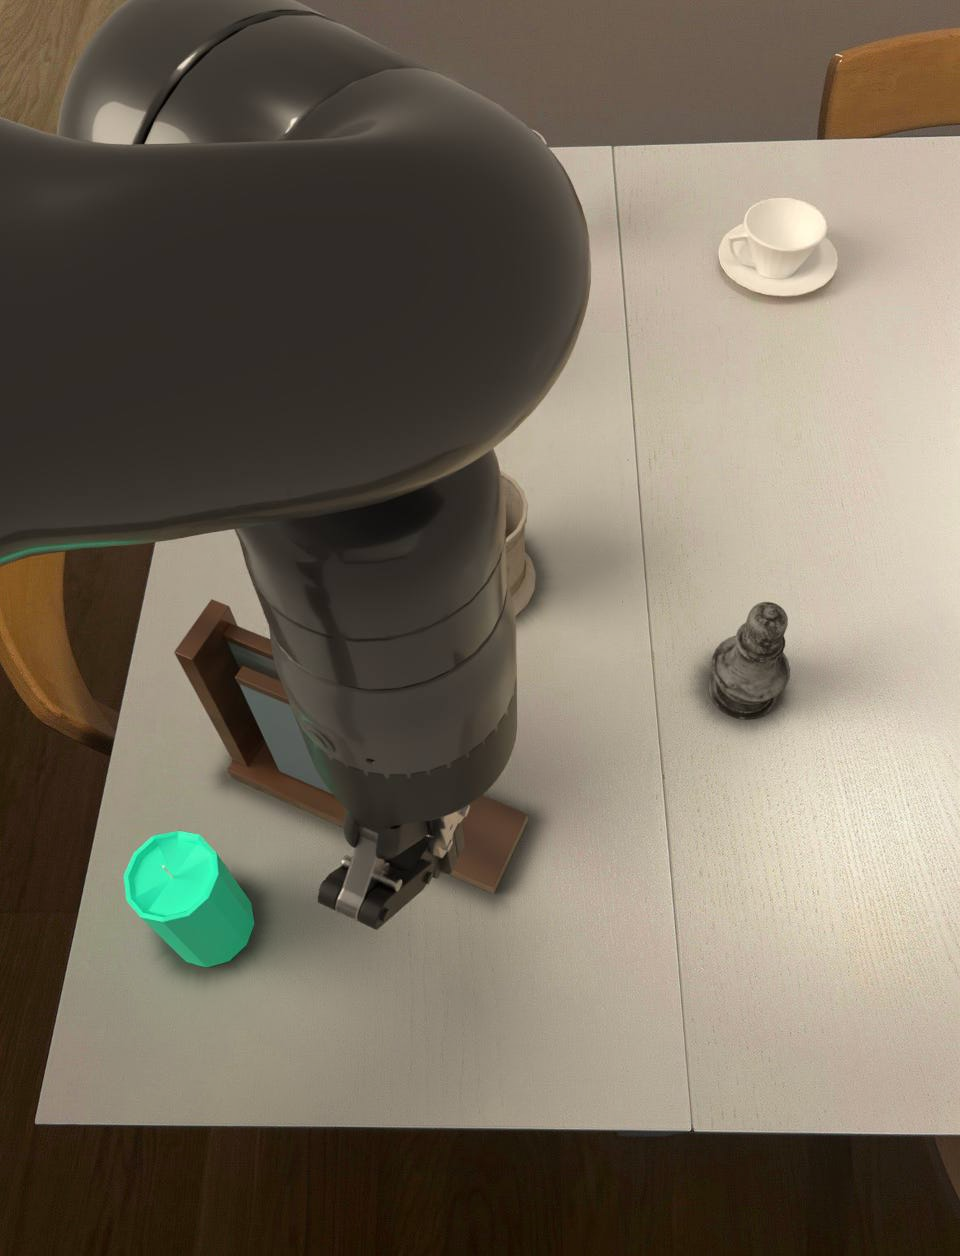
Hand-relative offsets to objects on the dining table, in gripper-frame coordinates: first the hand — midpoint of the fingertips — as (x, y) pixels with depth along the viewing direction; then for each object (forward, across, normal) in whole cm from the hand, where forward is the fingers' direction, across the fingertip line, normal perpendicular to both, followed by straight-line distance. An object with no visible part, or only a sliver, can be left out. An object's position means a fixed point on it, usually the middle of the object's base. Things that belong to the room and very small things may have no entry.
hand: (437, 852), depth 49 cm
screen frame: (+27, +10, +12) cm, 31 cm away
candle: (+27, -3, +18) cm, 33 cm away
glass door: (+25, +9, +14) cm, 30 cm away
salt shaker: (+27, +30, -10) cm, 42 cm away
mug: (+27, +33, +15) cm, 45 cm away
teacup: (+27, +79, +2) cm, 84 cm away
